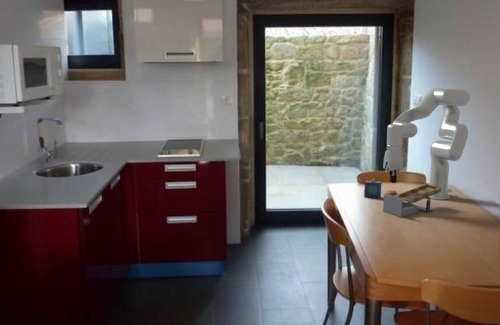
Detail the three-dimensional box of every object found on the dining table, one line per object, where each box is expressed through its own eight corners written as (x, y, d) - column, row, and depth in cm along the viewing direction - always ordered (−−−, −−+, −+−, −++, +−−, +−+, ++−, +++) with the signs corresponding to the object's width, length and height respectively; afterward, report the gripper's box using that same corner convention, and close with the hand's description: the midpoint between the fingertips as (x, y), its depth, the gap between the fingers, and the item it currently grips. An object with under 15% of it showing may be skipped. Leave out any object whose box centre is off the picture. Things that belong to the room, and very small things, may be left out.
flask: (380, 196, 293) (381, 178, 290) (381, 198, 290) (382, 179, 287) (363, 196, 293) (364, 178, 291) (364, 198, 290) (365, 179, 288)
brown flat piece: (412, 185, 286) (412, 180, 285) (444, 193, 269) (444, 188, 268) (384, 196, 276) (384, 190, 275) (415, 205, 259) (415, 200, 258)
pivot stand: (409, 204, 278) (410, 193, 276) (432, 211, 265) (433, 200, 264) (404, 205, 276) (405, 194, 274) (427, 212, 263) (427, 201, 262)
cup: (399, 207, 272) (400, 191, 270) (416, 213, 262) (418, 196, 260) (383, 211, 266) (384, 194, 264) (400, 217, 256) (401, 199, 254)
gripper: (399, 145, 277) (397, 178, 281) (378, 148, 269) (377, 183, 273) (410, 147, 270) (408, 181, 274) (389, 151, 263) (387, 186, 267)
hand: (392, 182), depth 274 cm, fingers closed
